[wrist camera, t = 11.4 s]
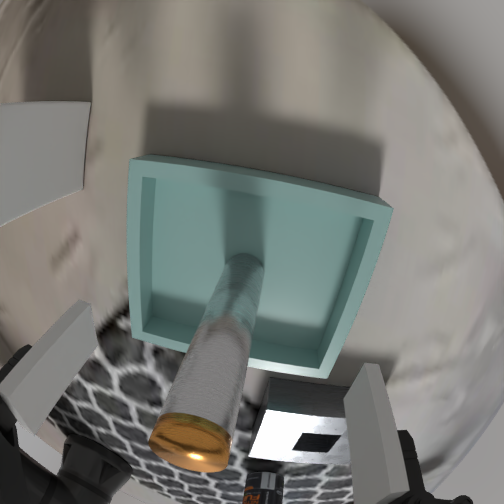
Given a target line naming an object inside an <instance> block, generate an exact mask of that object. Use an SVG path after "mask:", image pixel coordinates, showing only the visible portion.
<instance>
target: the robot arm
mask: <svg viewBox="0 0 504 504" xmlns="http://www.w3.org/2000/svg"><path fill="white" fill-rule="evenodd" d="M97 346H98V342H97V337H96V332H95V326H94V321H93V315H92V309H91V304H90V303H87V302H85V301H82V300H78V301H77V302H76V303H75V304H74V305H73V306H72V307H71V308H69V309H68V310H67V311H66V312H65V313H64V314H63V315H62V316H61V317H60V319H59V320H58V321H57V322H56V323H55V324H54V325H53V326H52V327H51V328H50V329H49V330H48V331H47V332H46V333H45V334H44V335H43V336H42V337H41V338H40V339H39V340H38V341H37V342H36V344H35V345H34V346H33V347H32V346H30V345H29V344H28V345H26V346H24V347H22V348H21V349H19V350H18V351H17V352H16V353H15V354H14V355H13V358H11V359H10V360H9V361H8V363H6V364H5V365H4V366H3V368H2V369H1V370H0V504H110V502H111V500H112V497H113V496H114V494H115V493H116V492H117V491H118V490H119V489H120V488H121V487H122V486H123V485H124V484H125V483H126V482H127V481H128V480H129V479H130V476H131V474H132V471H133V470H132V468H131V467H130V466H129V464H127V463H126V462H125V461H124V460H123V459H121V458H120V457H119V456H117V455H116V454H114V453H113V452H111V451H110V450H108V449H106V448H105V447H103V446H101V445H99V444H97V443H95V442H93V441H91V440H89V439H87V438H85V437H82V436H79V435H76V434H69V435H68V437H67V439H66V440H65V443H64V449H63V456H62V464H61V468H60V470H59V472H58V473H57V475H54V474H53V473H52V472H50V471H49V470H47V469H46V468H45V467H43V466H42V465H41V464H39V463H38V462H37V461H36V460H34V459H33V458H32V457H30V456H29V455H28V454H27V453H25V452H24V451H23V450H22V449H21V448H20V447H19V445H18V437H17V429H16V426H15V423H16V422H17V421H18V422H19V424H20V425H21V426H22V428H24V429H25V430H27V431H28V432H30V433H31V434H33V435H36V433H37V431H38V430H39V428H40V427H41V425H42V424H43V422H44V421H45V419H46V418H47V416H48V415H49V413H50V412H51V410H52V409H53V407H54V406H55V404H56V403H57V401H58V400H59V398H60V397H61V396H62V394H63V393H64V391H65V390H66V388H67V387H68V385H69V384H70V383H71V381H72V380H73V378H74V377H75V376H76V374H77V373H78V372H79V370H80V369H81V367H82V366H83V365H84V363H85V362H86V361H87V359H88V358H89V357H90V355H91V354H92V353H93V351H94V350H95V349H96V347H97ZM343 401H344V408H345V416H346V423H347V432H348V441H349V450H350V460H351V471H352V482H353V496H354V504H473V501H472V500H471V499H470V498H469V497H468V496H466V495H461V496H459V497H457V498H455V499H453V500H443V499H436V498H434V496H433V495H432V494H431V493H429V492H426V490H425V487H424V483H423V479H422V474H421V470H420V465H419V461H418V459H417V453H416V451H415V450H416V449H415V445H414V441H413V438H412V437H411V435H410V434H409V433H408V431H407V430H397V428H396V424H395V420H394V416H393V412H392V409H391V405H390V401H389V397H388V394H387V390H386V387H385V383H384V380H383V376H382V373H381V370H380V366H379V364H373V363H364V364H363V366H362V368H361V370H360V372H359V373H358V375H357V377H356V379H355V380H354V382H353V384H352V386H351V387H350V389H349V391H348V392H347V394H346V396H345V397H344V399H343Z"/></svg>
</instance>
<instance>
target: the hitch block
mask: <svg viewBox="0 0 504 504" xmlns="http://www.w3.org/2000/svg"><path fill="white" fill-rule="evenodd" d="M349 389H350V387H341V386H331V385H322V384H314V383H306V382H298V381H291V380H285V379H278V378H272V377H270V379H269V382H268V385H267V389H266V392H265V394H264V397H263V400H262V403H261V406H260V409H259V412H258V415H257V418H256V421H255V423H254V426H253V429H252V436H251V443H250V450H249V457H254V458H261V459H269V460H277V461H287V462H299V463H315V464H351V460H350V450H349V441H348V432H347V423H346V416H345V408H344V401H343V399H344V397H345V396H346V394H347V392H348V391H349Z"/></svg>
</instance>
